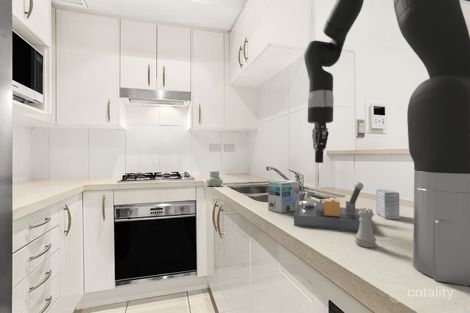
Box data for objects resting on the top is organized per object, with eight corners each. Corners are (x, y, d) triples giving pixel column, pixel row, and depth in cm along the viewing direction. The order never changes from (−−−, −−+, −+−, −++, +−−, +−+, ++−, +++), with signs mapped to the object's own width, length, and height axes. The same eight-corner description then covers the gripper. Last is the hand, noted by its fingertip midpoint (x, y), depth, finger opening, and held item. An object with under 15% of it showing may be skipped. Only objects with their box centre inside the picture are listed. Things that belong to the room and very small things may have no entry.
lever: (354, 211, 77) (365, 184, 76) (345, 207, 78) (356, 181, 77) (353, 209, 80) (364, 183, 78) (344, 206, 80) (355, 180, 79)
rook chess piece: (365, 249, 53) (365, 211, 53) (350, 242, 57) (350, 207, 57) (381, 247, 54) (382, 210, 54) (365, 240, 58) (366, 206, 58)
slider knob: (339, 216, 68) (339, 200, 68) (324, 215, 70) (324, 199, 70) (338, 213, 72) (339, 197, 72) (324, 212, 73) (324, 196, 73)
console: (372, 233, 64) (372, 210, 64) (293, 225, 71) (294, 204, 71) (363, 218, 80) (363, 199, 80) (299, 212, 86) (299, 195, 87)
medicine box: (399, 220, 78) (400, 192, 78) (384, 219, 79) (384, 192, 79) (389, 214, 86) (389, 189, 86) (375, 213, 87) (375, 189, 87)
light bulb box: (281, 213, 85) (281, 182, 85) (267, 210, 91) (267, 181, 91) (300, 209, 92) (300, 180, 92) (285, 206, 97) (286, 179, 97)
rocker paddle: (336, 212, 73) (338, 207, 73) (303, 199, 76) (304, 195, 76) (335, 209, 77) (337, 205, 77) (304, 197, 80) (305, 193, 80)
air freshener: (222, 185, 168) (222, 170, 168) (222, 186, 160) (223, 171, 160) (206, 185, 168) (206, 170, 168) (206, 186, 159) (206, 171, 159)
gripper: (305, 110, 84) (303, 161, 84) (311, 103, 71) (310, 163, 71) (327, 110, 83) (326, 162, 83) (339, 103, 70) (337, 164, 70)
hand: (319, 162), depth 77 cm, fingers closed
